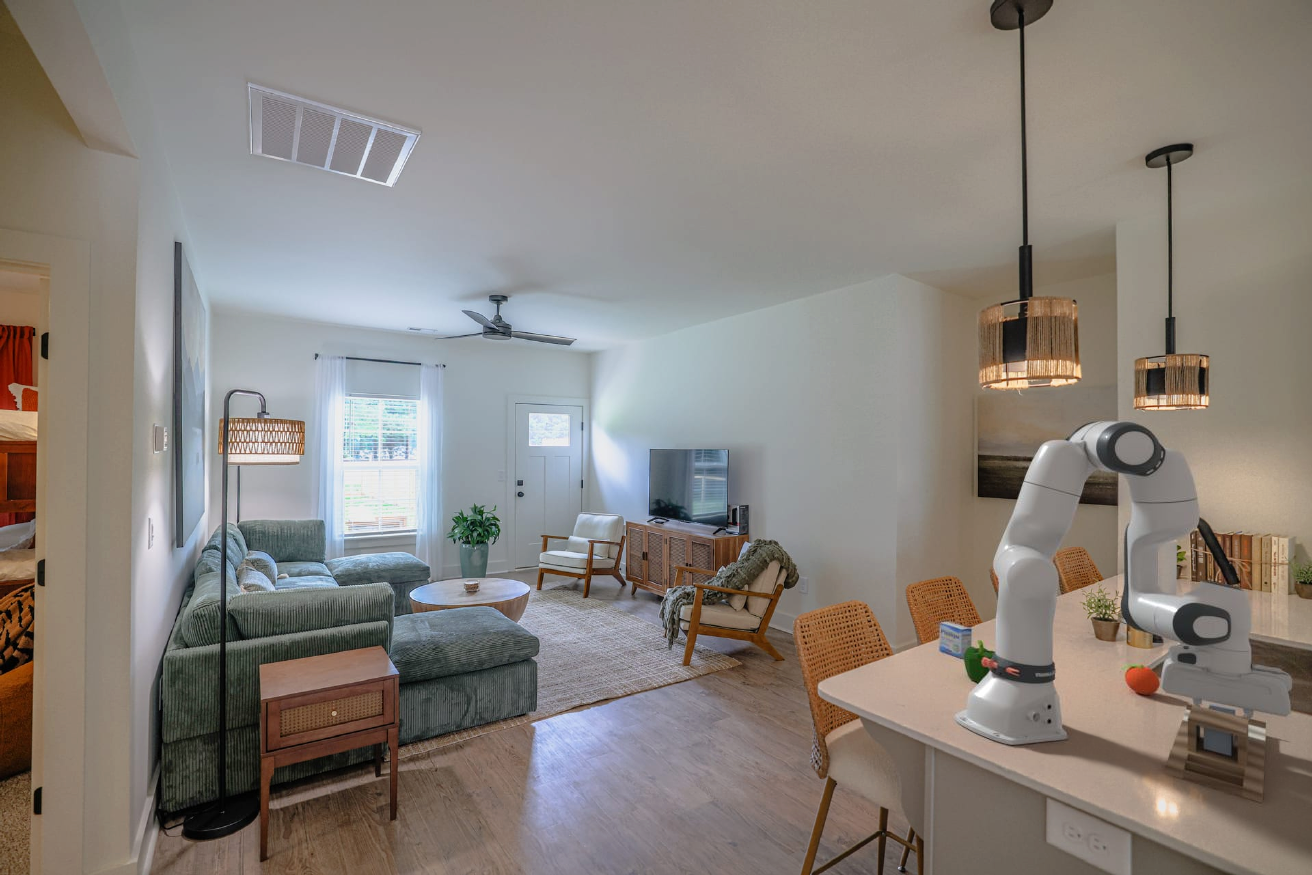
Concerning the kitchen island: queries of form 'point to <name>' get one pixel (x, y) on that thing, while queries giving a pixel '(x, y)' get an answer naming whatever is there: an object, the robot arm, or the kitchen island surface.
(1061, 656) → the kitchen island surface
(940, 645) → the medicine box
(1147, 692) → the tomato
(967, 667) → the bell pepper
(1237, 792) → the tunnel deck
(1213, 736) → the sled block
